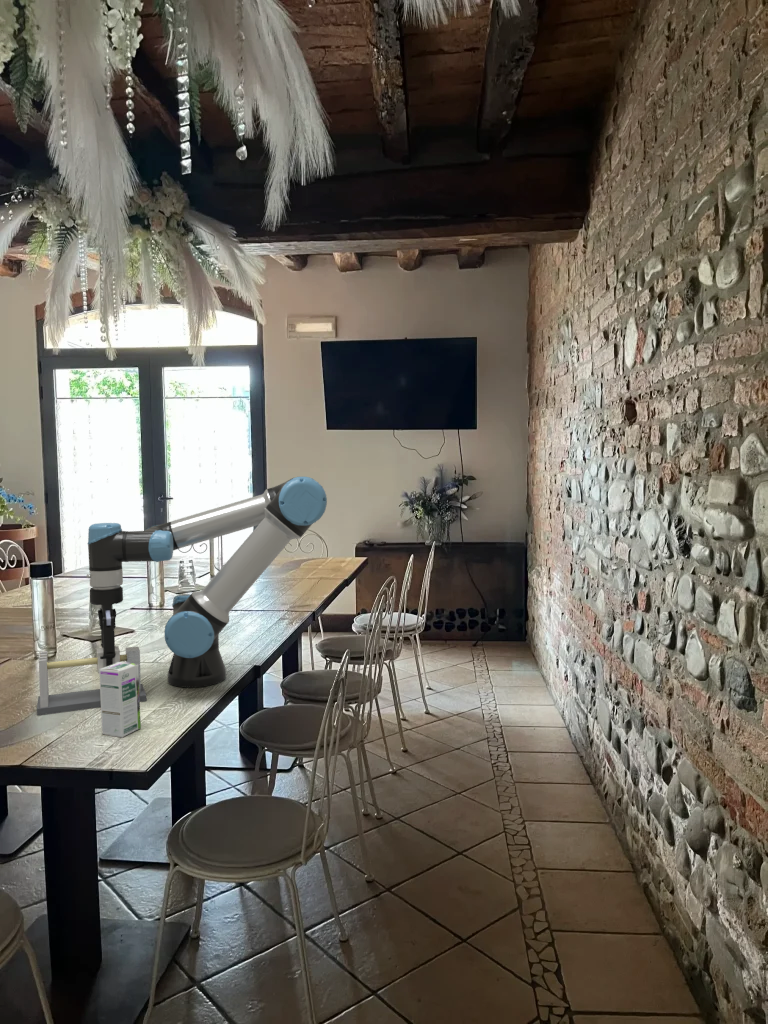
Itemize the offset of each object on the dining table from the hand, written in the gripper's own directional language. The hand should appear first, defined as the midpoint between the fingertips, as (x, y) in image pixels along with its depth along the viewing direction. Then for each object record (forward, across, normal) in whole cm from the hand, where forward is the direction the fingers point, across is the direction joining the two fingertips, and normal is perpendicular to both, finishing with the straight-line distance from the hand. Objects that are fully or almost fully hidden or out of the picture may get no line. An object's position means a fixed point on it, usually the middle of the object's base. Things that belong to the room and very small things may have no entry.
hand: (109, 680), depth 174 cm
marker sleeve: (-3, 0, 0) cm, 3 cm away
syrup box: (+5, +24, +1) cm, 24 cm away
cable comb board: (+5, 0, -4) cm, 6 cm away
